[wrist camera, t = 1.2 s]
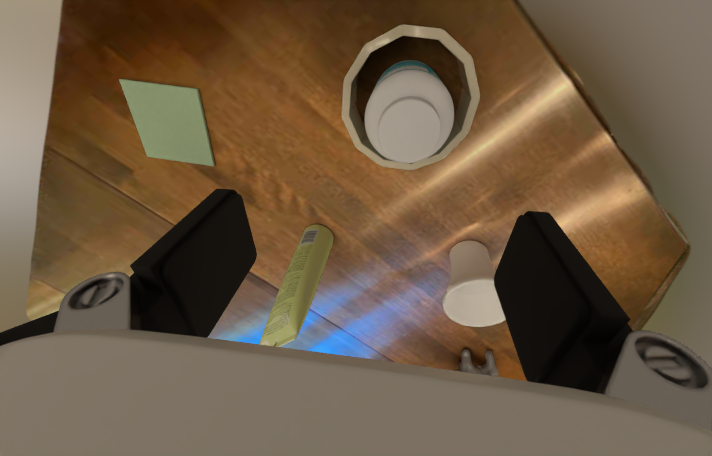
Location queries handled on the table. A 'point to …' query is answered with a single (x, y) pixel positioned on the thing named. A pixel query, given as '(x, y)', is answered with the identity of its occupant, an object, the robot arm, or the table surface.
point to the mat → (169, 121)
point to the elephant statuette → (483, 370)
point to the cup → (472, 287)
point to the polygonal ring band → (464, 108)
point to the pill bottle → (409, 113)
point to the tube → (298, 286)
